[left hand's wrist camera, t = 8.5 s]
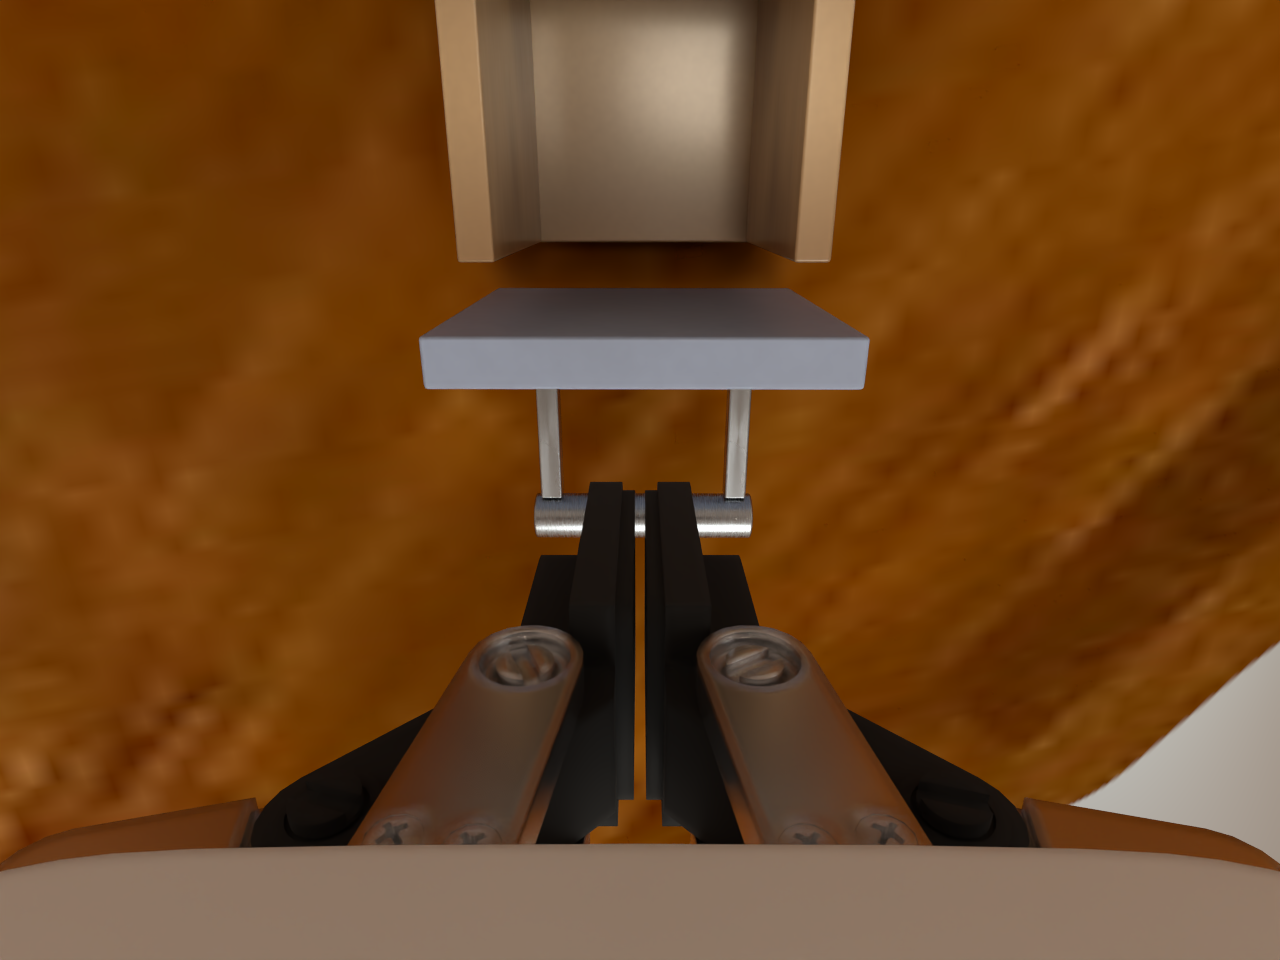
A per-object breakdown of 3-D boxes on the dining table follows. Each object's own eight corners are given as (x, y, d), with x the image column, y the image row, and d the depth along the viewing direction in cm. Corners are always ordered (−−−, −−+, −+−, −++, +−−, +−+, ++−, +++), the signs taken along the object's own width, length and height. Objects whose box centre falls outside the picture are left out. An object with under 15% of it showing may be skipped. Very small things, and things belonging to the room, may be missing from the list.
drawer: (776, 467, 27) (840, 596, 18) (510, 466, 27) (446, 595, 18) (841, -396, 18) (1022, -940, 10) (449, -395, 18) (273, -937, 10)
